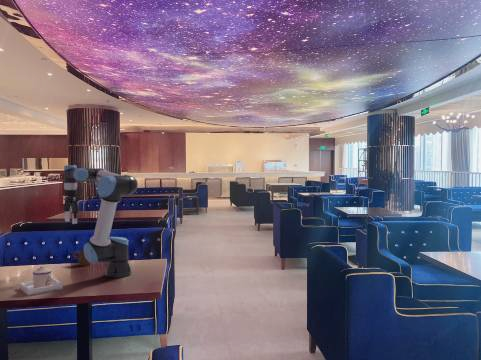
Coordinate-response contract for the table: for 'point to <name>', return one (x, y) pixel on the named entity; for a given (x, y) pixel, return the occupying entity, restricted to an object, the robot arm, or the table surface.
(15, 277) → the table surface
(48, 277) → the teacup with lid
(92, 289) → the table surface
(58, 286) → the tray
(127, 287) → the table surface
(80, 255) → the mug
